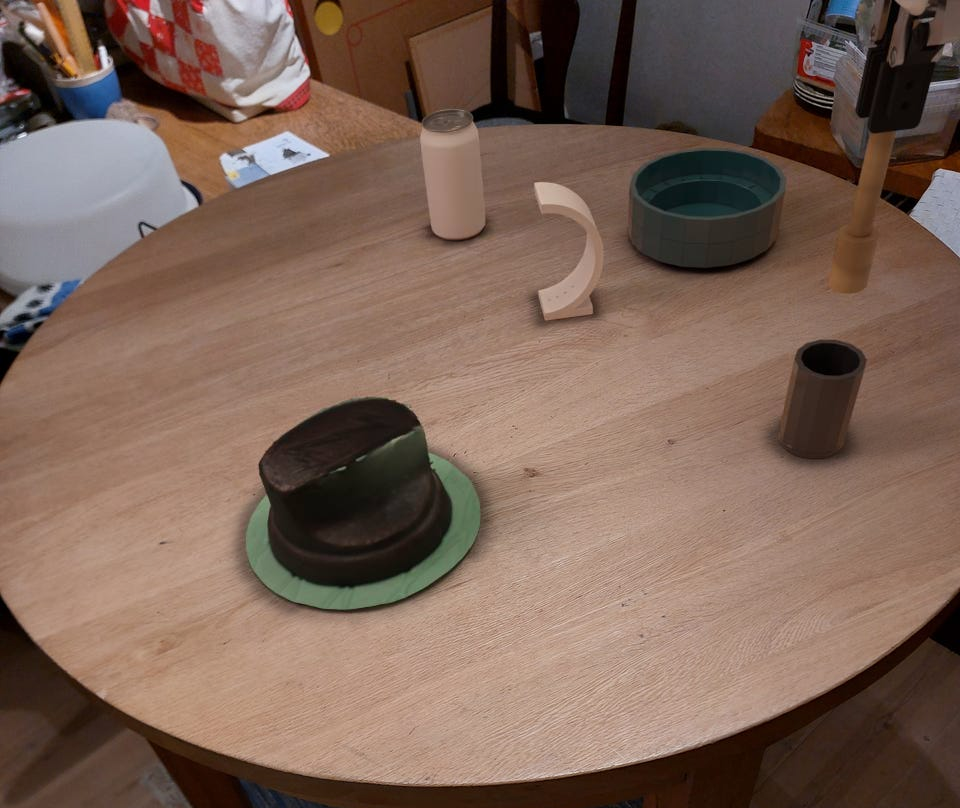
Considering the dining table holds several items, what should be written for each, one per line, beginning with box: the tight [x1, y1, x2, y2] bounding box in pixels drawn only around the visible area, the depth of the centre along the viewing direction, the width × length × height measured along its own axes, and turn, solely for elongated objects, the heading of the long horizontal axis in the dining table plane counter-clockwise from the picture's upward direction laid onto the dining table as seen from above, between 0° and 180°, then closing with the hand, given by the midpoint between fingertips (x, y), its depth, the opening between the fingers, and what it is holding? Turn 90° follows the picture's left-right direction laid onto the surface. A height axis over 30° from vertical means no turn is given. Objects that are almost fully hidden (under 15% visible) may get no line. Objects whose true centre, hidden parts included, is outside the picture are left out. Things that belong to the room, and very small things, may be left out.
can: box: [419, 108, 486, 241], centre depth 102 cm, size 6×6×12 cm
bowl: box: [627, 147, 788, 269], centre depth 98 cm, size 16×16×6 cm
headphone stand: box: [533, 181, 605, 322], centre depth 90 cm, size 5×6×12 cm
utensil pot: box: [778, 339, 868, 460], centre depth 75 cm, size 5×6×8 cm
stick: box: [827, 20, 923, 295], centre depth 61 cm, size 3×3×17 cm
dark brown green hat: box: [245, 395, 482, 611], centre depth 74 cm, size 15×19×20 cm
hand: (886, 119), depth 59 cm, fingers closed on stick, 1 cm apart
